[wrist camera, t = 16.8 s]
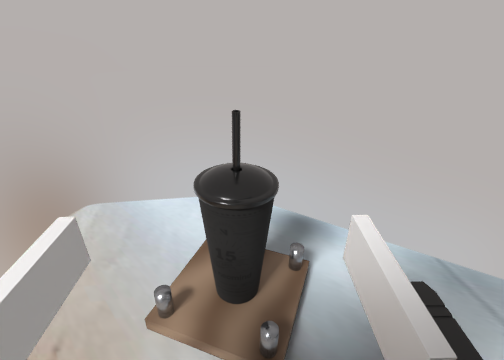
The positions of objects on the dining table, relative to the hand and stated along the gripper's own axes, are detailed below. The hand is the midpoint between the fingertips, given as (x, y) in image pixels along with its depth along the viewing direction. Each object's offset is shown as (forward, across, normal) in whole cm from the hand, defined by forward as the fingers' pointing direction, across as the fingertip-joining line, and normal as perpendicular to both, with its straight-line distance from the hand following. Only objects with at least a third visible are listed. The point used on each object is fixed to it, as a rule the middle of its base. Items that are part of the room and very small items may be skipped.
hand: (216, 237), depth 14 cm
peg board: (+12, 0, -18) cm, 22 cm away
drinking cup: (+12, 0, -17) cm, 21 cm away
